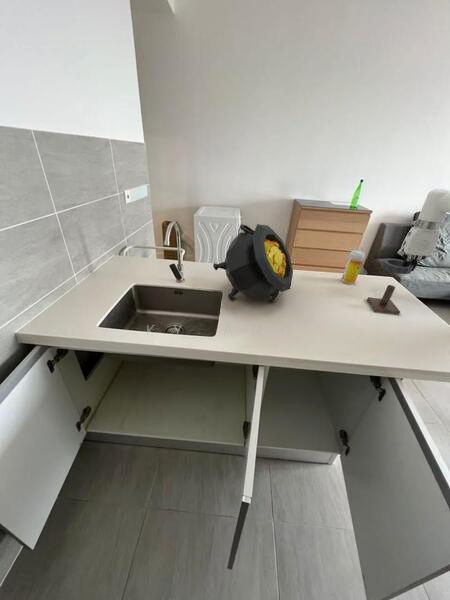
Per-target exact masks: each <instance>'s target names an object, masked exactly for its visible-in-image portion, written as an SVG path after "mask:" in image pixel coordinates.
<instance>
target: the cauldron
mask: <svg viewBox="0 0 450 600" xmlns="http://www.w3.org/2000/svg"><path fill="white" fill-rule="evenodd" d="M239 229H240V230H241V231H243V232H239V233H238V234H237V235H236V236H235V237H234V238H233V239H232V241H231V243H230V244H229V246H228V249H227V251H226V254H225V259H224V261H222V262H220V263H215V262H214V263H213V264H212V267H213V269H214V270H215V271H217V270H219V269H222V270H224V271H225V276H226V278H227V279H228V281H229V283H230V285H231V286H232V289H231V292H230V293H228V295H227V297H228V299H229V300H230V301H233V300H234V299H235V296H236V295H237V294H239V293H241V294H242V295H243V296H246V298H249V299H250V300H253V301H254V300H255V301H256V300H259V301H260V300H261V301H262V300H266V299H269V298H270V302H271V303H274V302H275V301H276V299H277V297H278V295H279V294H280V293H284V292H287V291H289V290H291V287H292V282H293V275H294V269H293V264H292V260H291V255H290V253H289V251H288V249H287V247H286V245H285V243H284V240H283V239H282V237H280V236H279V235H278V234H277V233H276V231H275V230H274V229H273V228H272V227H270V226H269V225H266V224H259V223H257V224H256V226H255V229H252V227H250V226H248V225H247V224H239Z"/></svg>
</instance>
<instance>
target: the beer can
mask: <svg viewBox="0 0 450 600" xmlns="http://www.w3.org/2000/svg"><path fill="white" fill-rule="evenodd" d="M365 258H366V253H365V252H364V251H363V250H359V249H352V250H351V252H350V253H349V255H348V259H347V261H346V265H345V268H344V270H343V274H342V275H341V276H342V277H341V281H342V282H343V283H344V284H347V285H353V284H355V283H356V282H357V278H358V276H359V273H360V270H361V268H362V265H363V262H364V260H365Z"/></svg>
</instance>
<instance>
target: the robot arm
mask: <svg viewBox="0 0 450 600" xmlns="http://www.w3.org/2000/svg"><path fill="white" fill-rule="evenodd" d="M447 213H448V214H450V189H446V188H445V189H444V188H443V189H442V188H433V189H431V190H430V191H429V192H428V193H427V196H426V198H425V200H424V203H423V205H422V207H421V209H420V212H419V214H418V216H417V219H416V220H412V222H411V224H412V225H413V226H412V227H411V228H410V230H409V231H408V232H407V234H406V236H405V238H404V240H403V242H402V244H401V247H400V249H399V250H398V251H397V254H398V255H399V256H401V257H402V259H403V261H404V262H403V264H402V267H408V266H409V265H410V263H411V264H412V265H413V269H412V271H411V272H414V271H415V269H416V267H417V265H418V264H419V263H420V262H421V261H423V260H424V259H428V258H431V257H432V255H433V254H434V251H435V249H436V248H437V244H438V242H439V239H440V236H441V230H440V227H441V225H442V223H443V221H444V219H445V216H446V214H447ZM412 256H414V257H413V259H412Z"/></svg>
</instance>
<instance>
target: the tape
mask: <svg viewBox="0 0 450 600" xmlns="http://www.w3.org/2000/svg"><path fill="white" fill-rule="evenodd" d="M403 262H404V259H403V260H402V259H398V258H383V260H382V262H381V264H380V267H381V268H382V269H383V270H385V271H387V272H390V273H394V274H399V275H409V274H412V272H413V271H412V269H413V265H412V264H411V263H410V265H409V266H408V267H402V264H403Z"/></svg>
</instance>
